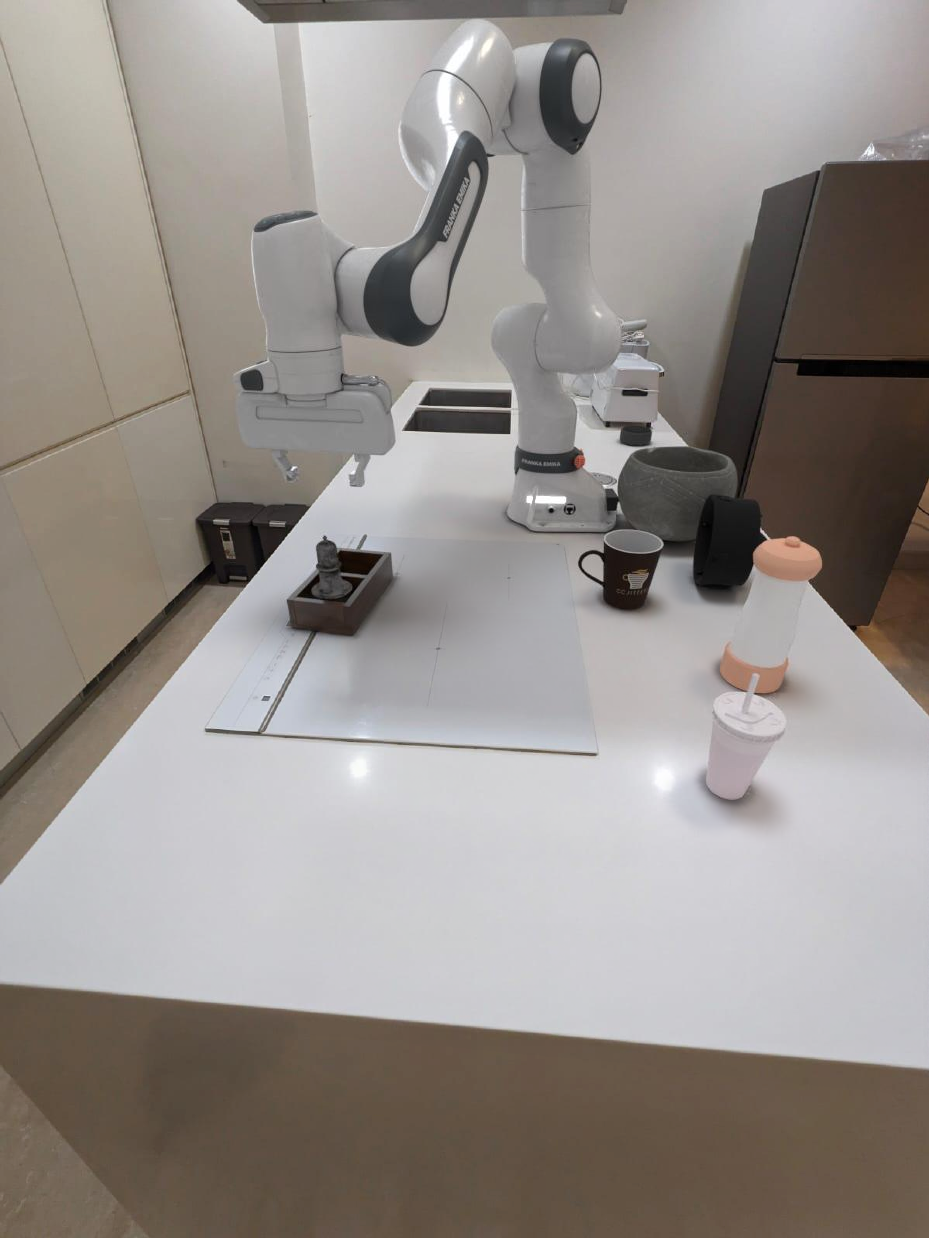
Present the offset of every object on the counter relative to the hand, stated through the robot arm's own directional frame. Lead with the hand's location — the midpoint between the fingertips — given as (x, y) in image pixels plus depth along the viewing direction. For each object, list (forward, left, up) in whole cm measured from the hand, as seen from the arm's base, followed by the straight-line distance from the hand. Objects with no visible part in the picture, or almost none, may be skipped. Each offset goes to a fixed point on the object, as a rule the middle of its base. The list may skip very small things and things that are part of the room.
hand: (324, 483), depth 78 cm
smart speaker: (-47, -109, -20) cm, 120 cm away
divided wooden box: (0, -3, -20) cm, 20 cm away
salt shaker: (0, +2, -19) cm, 19 cm away
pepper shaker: (-58, +4, -20) cm, 61 cm away
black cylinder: (-59, -22, -20) cm, 66 cm away
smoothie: (-52, +24, -20) cm, 61 cm away
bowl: (-51, -41, -20) cm, 68 cm away
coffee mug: (-41, -13, -20) cm, 47 cm away
